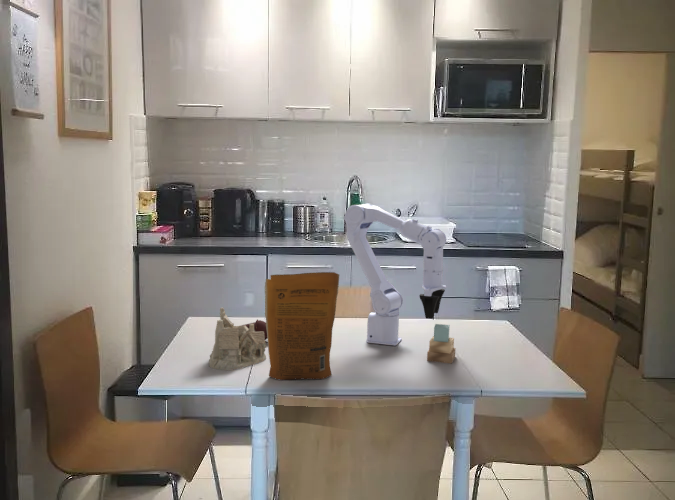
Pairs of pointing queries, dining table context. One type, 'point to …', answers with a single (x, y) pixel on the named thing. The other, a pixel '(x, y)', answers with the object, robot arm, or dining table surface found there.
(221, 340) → the ceramic cottage
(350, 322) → the dining table surface
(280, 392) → the dining table surface
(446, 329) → the teal cube
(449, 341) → the tower top
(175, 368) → the dining table surface
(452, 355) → the tower base
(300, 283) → the pancake mix bag
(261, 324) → the icecream
